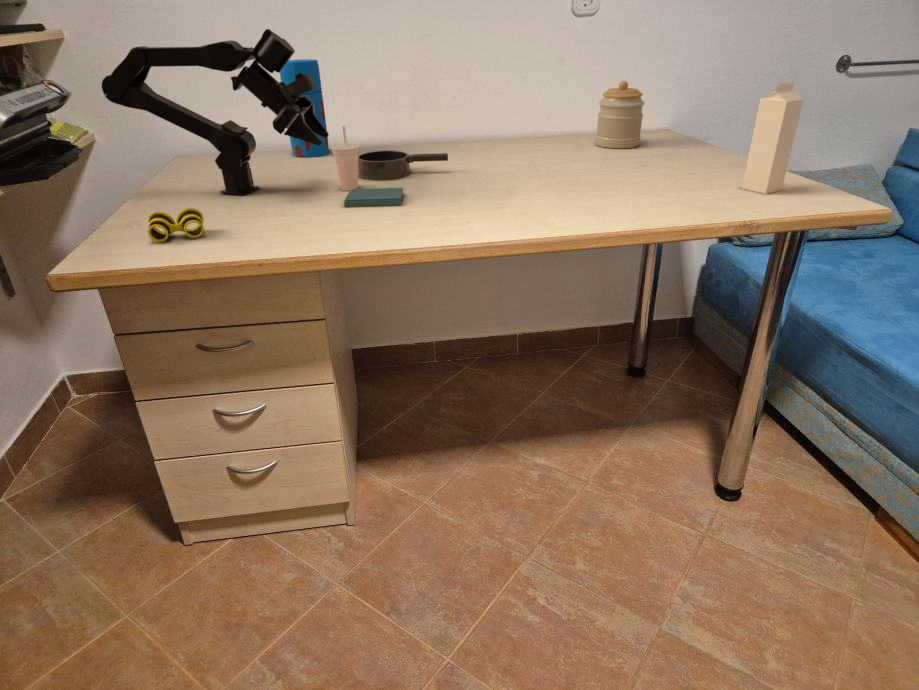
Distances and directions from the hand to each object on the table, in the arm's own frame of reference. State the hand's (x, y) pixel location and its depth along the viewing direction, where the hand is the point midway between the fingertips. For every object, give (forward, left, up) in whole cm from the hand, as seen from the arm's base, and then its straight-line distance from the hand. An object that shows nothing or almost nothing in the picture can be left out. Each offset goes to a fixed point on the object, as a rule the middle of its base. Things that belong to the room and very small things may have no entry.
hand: (324, 140), depth 137 cm
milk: (+24, -96, -11) cm, 99 cm away
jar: (+67, -60, -11) cm, 90 cm away
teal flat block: (-6, -15, -11) cm, 20 cm away
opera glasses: (-38, +11, -11) cm, 41 cm away
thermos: (+35, +26, -11) cm, 45 cm away
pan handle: (+21, -17, -8) cm, 28 cm away
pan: (+17, -6, -11) cm, 21 cm away
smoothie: (+2, -4, -11) cm, 12 cm away
